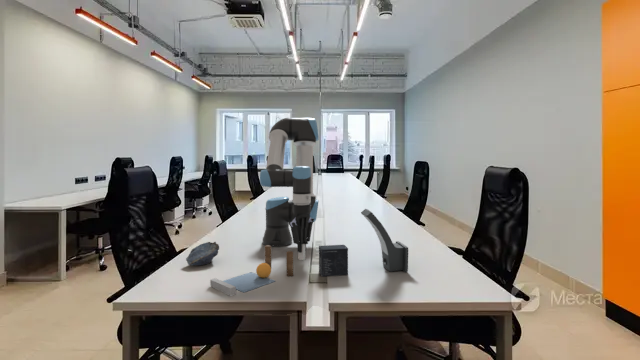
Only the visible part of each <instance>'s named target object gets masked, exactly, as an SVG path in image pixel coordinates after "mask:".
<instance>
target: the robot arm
mask: <svg viewBox="0 0 640 360" xmlns="http://www.w3.org/2000/svg"><path fill="white" fill-rule="evenodd" d="M319 138H320V137H319V129H318V122H317V120H316V118H314V117H313V118H312V117H285V118H282V119H279V120H278V121H276V122H275V123H274V124H273V126H272V127H271V129H270V131H269V133H268V140H269V146H268V147H269V148H268V152H267V153H268V154H267V162H266V168H265V169H261V170H260V173H259V183H260V186H261V187H263V188H264V187H265V188H266V187H267V188H276V187H277V188H279V187H280V188H283V187H284V188H292V199H290V197H289V196H278V197H272V198H270V199H267V200H266V202H265V208H264V209H265V230H264V234H263V237H262V244H263V245H265V246H266V245H270V246H271V247H284V246H285V247H286V246H289V245H291V244H292V243H293V244H295V245H297V246H296V247H297V255H298V256H297V257H298V259H297V260H300V261H305V260H306V252H307V245H309V242H310V241H311V235H312V230H313V225H314V222H316V221H317V216H318V209H319V202H320V201H319V199H316V198H317V196H316V195H315V194H314V181H313V179H314V147H315V146H316V144H317V141H319ZM288 141H293V145H294V146H295V149H296V150H295V151H296V152H295V153H296V155H295V159H296V161H295V162H296V163H295V165H296V166H293V167H292V169H284V162H285V153H286V152H285V151H286V143H287V142H288Z"/></svg>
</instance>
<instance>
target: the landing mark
mask: <svg viewBox="0 0 640 360" xmlns="http://www.w3.org/2000/svg"><path fill="white" fill-rule="evenodd" d="M222 281H223V282H226V283H228V284H230V285H233V286H235V287H236V291H239V292H242V293H247V292H249V291H252V290H255V289H257V288H260V287H263V286H266V285H269V284H272V283H274V282H276V280H274V279H271V278H269V277H266V278H261V277H259V276H258V275H257V273H256V272H255V273H254V272H252V271H251V272H247V273H244V274H240V275H237V276H235V277H230V278H228V279H225V280H222Z"/></svg>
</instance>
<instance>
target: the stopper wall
mask: <svg viewBox="0 0 640 360" xmlns="http://www.w3.org/2000/svg"><path fill="white" fill-rule="evenodd" d="M209 281H210V282H209V283H210V287H211V288H213V289H214V290H218V291H219V292H222V293H223V294H225V295H227V296H229V297H230V296H234V295H236V294H237V289H236V287H235V286H233V285H230V284H228V283H226V282H223V281H224V280H221V279H219V278H216V277H214V278H212V279H211V278H210V280H209Z"/></svg>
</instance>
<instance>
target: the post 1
mask: <svg viewBox="0 0 640 360" xmlns="http://www.w3.org/2000/svg"><path fill="white" fill-rule="evenodd" d="M264 263H267V264H269V265H270V267H271V268H272V246H270V245H265V246H264Z"/></svg>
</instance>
